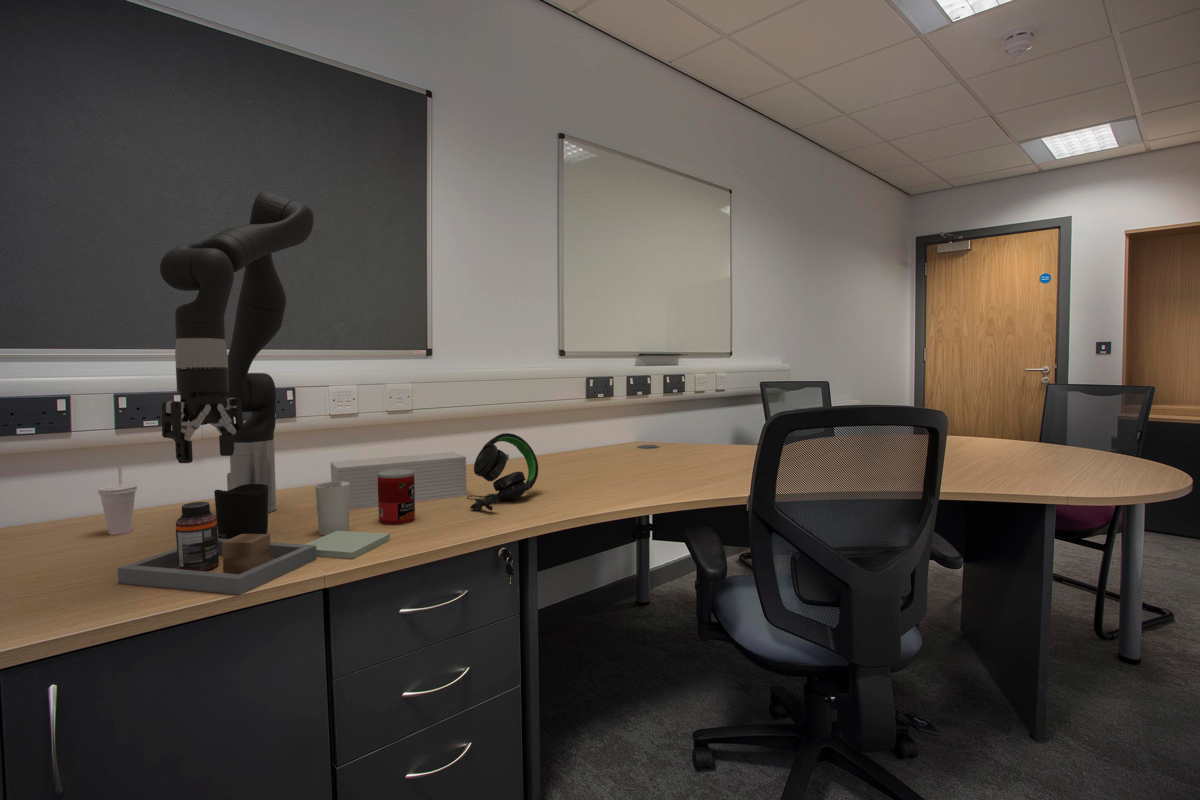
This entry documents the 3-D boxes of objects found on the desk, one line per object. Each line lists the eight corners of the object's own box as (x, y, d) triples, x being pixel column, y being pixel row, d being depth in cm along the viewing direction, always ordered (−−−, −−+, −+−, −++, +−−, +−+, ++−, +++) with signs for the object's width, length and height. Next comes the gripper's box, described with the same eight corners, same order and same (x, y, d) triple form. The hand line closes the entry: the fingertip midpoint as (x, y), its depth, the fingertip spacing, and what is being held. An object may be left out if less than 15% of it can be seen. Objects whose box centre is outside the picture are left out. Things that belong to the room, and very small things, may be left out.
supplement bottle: (191, 563, 105) (188, 500, 105) (226, 562, 106) (223, 499, 105) (169, 575, 99) (166, 508, 99) (207, 573, 100) (204, 507, 99)
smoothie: (145, 530, 127) (142, 465, 126) (110, 538, 121) (107, 470, 120) (128, 526, 129) (125, 463, 129) (93, 534, 124) (89, 467, 123)
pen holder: (221, 533, 124) (219, 486, 124) (272, 528, 128) (270, 482, 128) (211, 545, 116) (209, 494, 115) (266, 539, 119) (265, 490, 119)
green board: (295, 554, 110) (295, 548, 110) (337, 536, 122) (337, 530, 122) (352, 558, 107) (352, 552, 107) (389, 539, 119) (389, 534, 119)
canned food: (404, 525, 130) (403, 475, 129) (371, 523, 131) (370, 474, 131) (421, 517, 137) (420, 469, 137) (390, 515, 139) (389, 468, 138)
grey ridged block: (453, 489, 169) (453, 451, 168) (466, 496, 160) (466, 456, 159) (331, 503, 152) (330, 461, 151) (338, 512, 143) (337, 467, 142)
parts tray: (118, 583, 96) (117, 567, 96) (209, 550, 112) (209, 537, 112) (239, 594, 91) (238, 578, 90) (316, 558, 107) (316, 545, 107)
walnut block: (223, 578, 98) (222, 542, 98) (243, 567, 103) (241, 533, 103) (252, 578, 98) (251, 542, 98) (271, 568, 103) (269, 534, 102)
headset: (483, 538, 147) (535, 472, 167) (513, 525, 140) (563, 458, 160) (439, 489, 144) (497, 429, 164) (467, 473, 136) (524, 412, 156)
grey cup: (315, 537, 121) (313, 488, 120) (317, 529, 127) (316, 483, 127) (350, 534, 123) (349, 486, 123) (351, 525, 130) (350, 480, 129)
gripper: (217, 366, 110) (221, 453, 111) (145, 365, 96) (150, 465, 97) (252, 365, 109) (256, 453, 109) (184, 364, 95) (189, 465, 95)
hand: (206, 459), depth 103 cm, fingers open, 8 cm apart
